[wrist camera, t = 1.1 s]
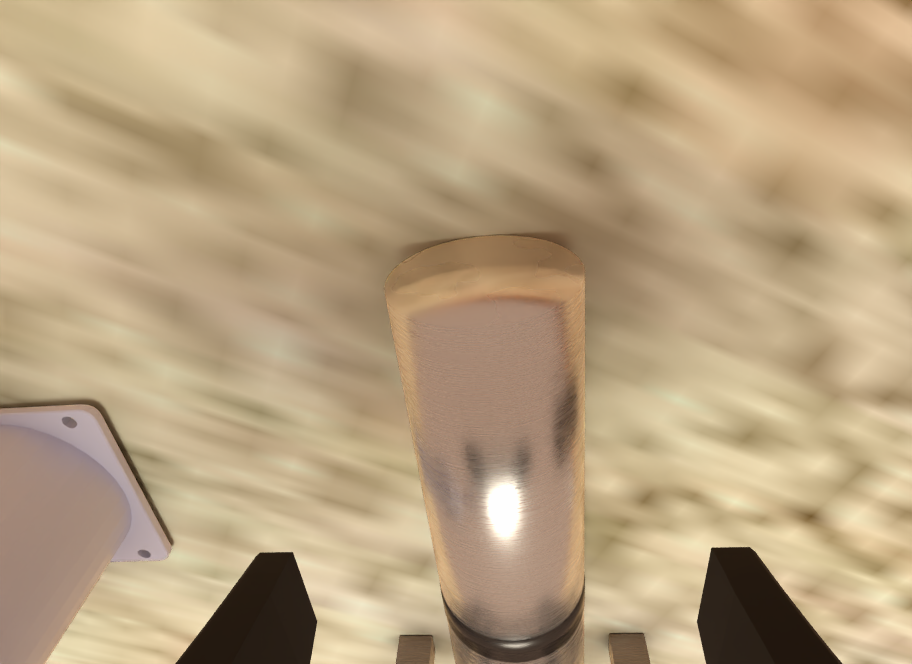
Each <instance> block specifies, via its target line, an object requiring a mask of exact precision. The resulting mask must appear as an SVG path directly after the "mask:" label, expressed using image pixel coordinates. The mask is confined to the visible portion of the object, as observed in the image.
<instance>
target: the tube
mask: <svg viewBox="0 0 912 664" xmlns="http://www.w3.org/2000/svg"><path fill="white" fill-rule="evenodd" d="M384 291H385V297H386V302H387V308H388V313H389V318H390V323H391V328H392V334H393V339H394V344H395V349H396V355H397V360H398V365H399V370H400V375H401V381H402V386H403V391H404V396H405V402H406V407H407V412H408V417H409V423H410V428H411V433H412V438H413V443H414V449H415V454H416V459H417V464H418V470H419V475H420V480H421V485H422V490H423V496H424V501H425V506H426V511H427V517H428V522H429V527H430V532H431V538H432V543H433V548H434V553H435V558H436V564H437V569H438V574H439V579H440V587H441V593H442V598H443V603H444V609H445V613H446V616H447V621H448V626H449V632H450V637H451V642H452V647H453V653H454V658H455V663H456V664H584V602H585V575H584V473H585V269H584V265H583V263H582V261H581V260H580V259H579V258H578V256H577V255H575V254H574V253H573V252H572V251H570V250H568V249H567V248H565V247H563V246H560V245H558V244H556V243H553V242H550V241H546V240H542V239H538V238H532V237H524V236H511V235H492V236H479V237H471V238H465V239H459V240H454V241H450V242H446V243H443V244H439V245H436V246H433V247H430V248H428V249H425V250H423V251H420V252H418V253H416V254H414V255H412V256H411V257H409V258H407V259H406V260H404V261H403V262H401V263H400V264H399V265H398V266H397V267H396V268H395V269H394V270H393V271H392V272H391V273H390V274H389V276H388V277H387V280H386V282H385V287H384Z"/></svg>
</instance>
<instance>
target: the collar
mask: <svg viewBox="0 0 912 664" xmlns="http://www.w3.org/2000/svg"><path fill="white" fill-rule="evenodd" d="M609 655H610V661H611V664H650V660H649V655H648V651H647V646H646V641H645V637H644V634H609ZM434 658H435V648H434V643H433V639H432V636H400V638H399V645H398V652H397V659H396V664H434Z"/></svg>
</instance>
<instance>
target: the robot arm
mask: <svg viewBox="0 0 912 664" xmlns="http://www.w3.org/2000/svg"><path fill="white" fill-rule="evenodd" d="M72 418H73V419H72ZM171 550H172V547H171V545H170V543H169V541H168V539H167V537H166V535H165V533H164V532H163V530H162V528H161V526H160V524H159V522H158V520H157V518H156V516H155V515H154V513H153V511H152V509H151V507H150V505H149V503H148V501H147V499H146V498H145V496H144V494H143V492H142V490H141V488H140V486H139V484H138V483H137V481H136V479H135V477H134V475H133V473H132V471H131V469H130V467H129V466H128V464H127V462H126V460H125V458H124V456H123V454H122V452H121V450H120V449H119V447H118V445H117V443H116V441H115V439H114V437H113V435H112V434H111V432H110V430H109V428H108V426H107V424H106V422H105V420H104V418H103V417H102V415H101V413H100V412H99V411H98V410H97V409H96V408H95V407H93V406H90V405H85V404H77V405H58V406H40V407H21V408H2V409H0V664H45V663H46V661H47V660H48V658H49V656H50V655H51V653H52V652H53V650H54V649H55V647H56V645H57V644H58V642H59V641H60V639H61V638H62V636H63V635H64V633H65V631H66V630H67V628H68V627H69V625H70V624H71V622H72V620H73V619H74V617H75V616H76V614H77V613H78V611H79V609H80V608H81V606H82V605H83V603H84V602H85V600H86V599H87V597H88V595H89V594H90V592H91V591H92V589H93V588H94V586H95V584H96V583H97V581H98V580H99V578H100V577H101V575H102V573H103V572H104V570H105V569H106V567H107V566H108V564H109V563H110V562H120V561H160V560H165V559H166V558H168V556H169V554H170V552H171ZM697 624H698V628H699V633H700V637H701V642H702V647H703V651H704V656H705V660H706V664H842V663H841V661H840V660H839V659H838V658H837V657H836V655H835V654H834V653H833V652H832V651H831V649H830V648H829V647H828V646H827V645H826V643H825V642H824V641H823V640H822V638H821V637H820V636H819V635H818V633H817V632H816V631H815V630H814V628H813V627H812V626H811V625H810V623H809V622H808V621H807V620H806V618H805V617H804V616H803V614H802V613H801V612H800V611H799V609H798V608H797V607H796V606H795V604H794V603H793V602H792V600H791V599H790V598H789V596H788V595H787V594H786V592H785V591H784V590H783V589H782V587H781V586H780V585H779V583H778V582H777V581H776V579H775V578H774V577H773V575H772V574H771V573H770V571H769V570H768V568H767V567H766V566H765V564H764V563H763V562H762V560H761V559H760V558H759V556H758V555H757V553H756V552H755V551H754V550H752V549H751V548H750V547H728V548H711V553H710V558H709V563H708V569H707V574H706V579H705V584H704V589H703V594H702V599H701V604H700V609H699V614H698V619H697ZM316 625H317V620H316V617H315V614H314V611H313V608H312V605H311V603H310V600H309V597H308V594H307V591H306V588H305V585H304V583H303V580H302V577H301V574H300V571H299V568H298V566H297V563H296V560H295V557H294V554H293V552H275V553H259V554H258V555H257V556H256V557H255V559H254V560H253V561H252V563H251V564H250V565H249V567H248V568H247V569H246V571H245V572H244V574H243V575H242V576H241V578H240V579H239V580H238V582H237V583H236V585H235V586H234V587H233V589H232V590H231V591H230V593H229V594H228V595H227V597H226V598H225V600H224V601H223V602H222V604H221V605H220V606H219V608H218V609H217V610H216V612H215V613H214V614H213V616H212V617H211V618H210V620H209V621H208V622H207V624H206V625H205V626H204V628H203V629H202V630H201V632H200V633H199V634H198V635H197V637H196V638H195V639H194V641H193V642H192V643H191V644H190V646H189V647H188V648H187V650H186V651H185V652H184V653H183V655H182V656H181V657H180V658H179V660H178V661H177V662H176V664H310V660H311V655H312V649H313V643H314V637H315V631H316Z"/></svg>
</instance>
